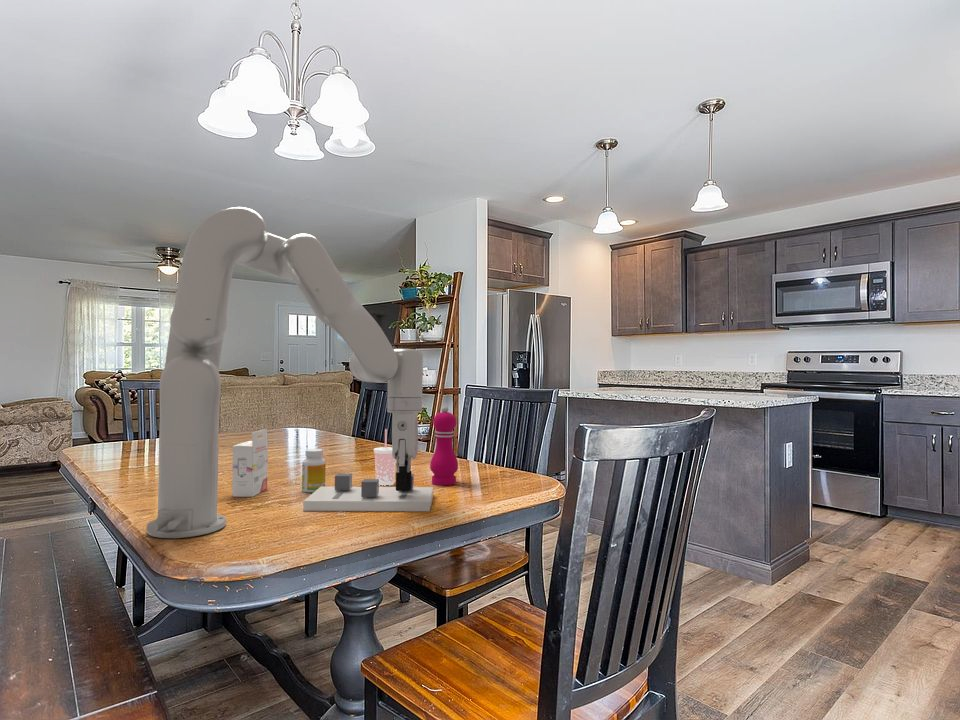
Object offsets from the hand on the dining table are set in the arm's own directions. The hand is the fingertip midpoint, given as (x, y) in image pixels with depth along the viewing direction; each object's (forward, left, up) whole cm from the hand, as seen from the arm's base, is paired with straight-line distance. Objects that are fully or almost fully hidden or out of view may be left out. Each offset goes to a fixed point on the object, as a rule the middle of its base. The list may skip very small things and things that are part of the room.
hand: (403, 489), depth 119 cm
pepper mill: (+23, -8, -3) cm, 24 cm away
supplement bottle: (+14, +23, -4) cm, 27 cm away
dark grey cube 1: (+5, +14, -1) cm, 15 cm away
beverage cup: (+22, +7, -3) cm, 23 cm away
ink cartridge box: (+11, +37, -4) cm, 39 cm away
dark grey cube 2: (-1, +7, -1) cm, 7 cm away
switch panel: (+2, +7, -3) cm, 8 cm away
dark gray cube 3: (+5, 0, -1) cm, 5 cm away
